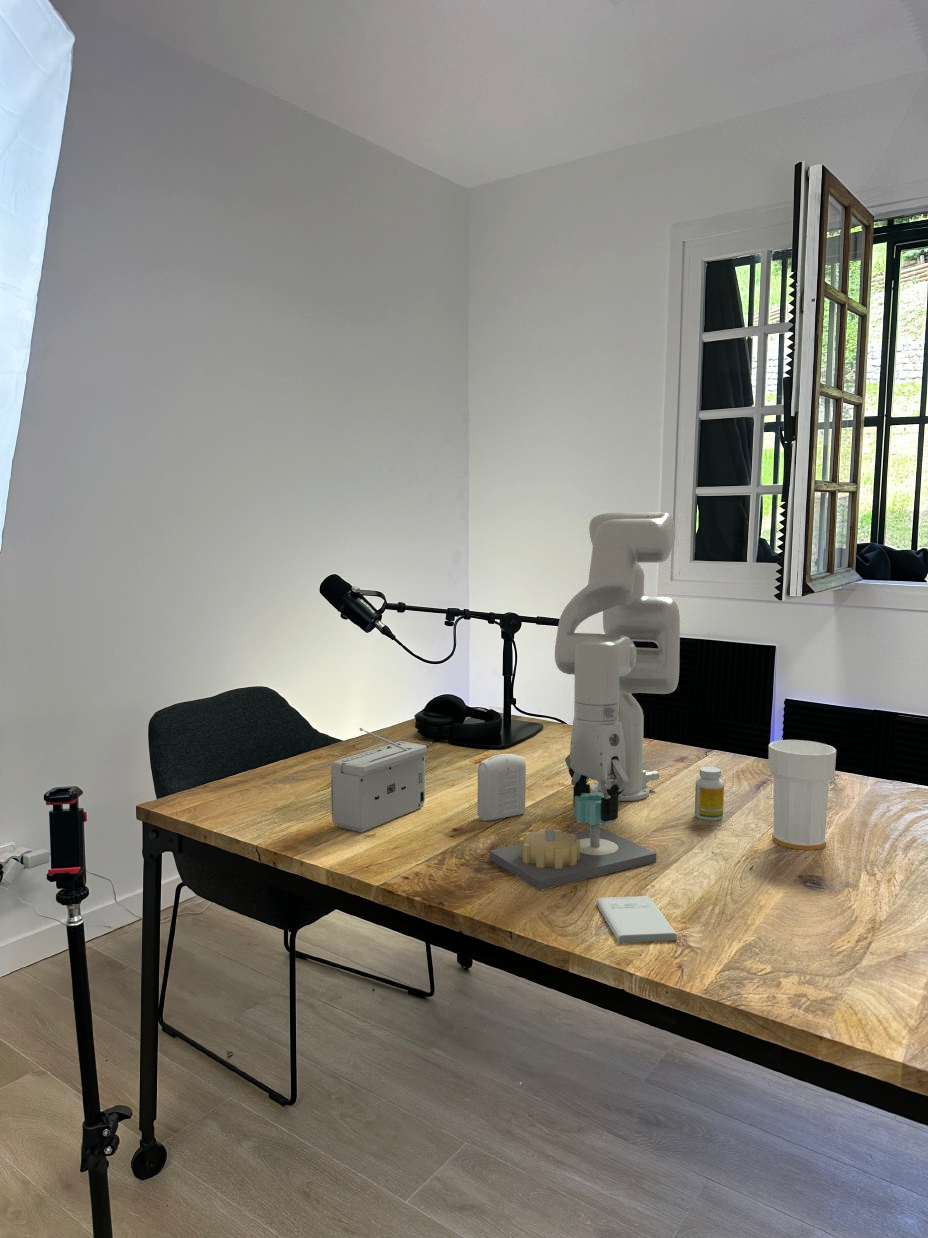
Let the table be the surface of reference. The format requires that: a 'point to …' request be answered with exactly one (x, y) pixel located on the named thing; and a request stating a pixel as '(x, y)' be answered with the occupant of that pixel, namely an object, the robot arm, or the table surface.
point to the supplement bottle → (709, 794)
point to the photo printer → (501, 787)
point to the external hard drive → (635, 919)
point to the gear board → (569, 856)
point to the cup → (801, 792)
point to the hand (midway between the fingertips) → (595, 812)
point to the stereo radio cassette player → (378, 785)
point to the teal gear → (589, 808)
